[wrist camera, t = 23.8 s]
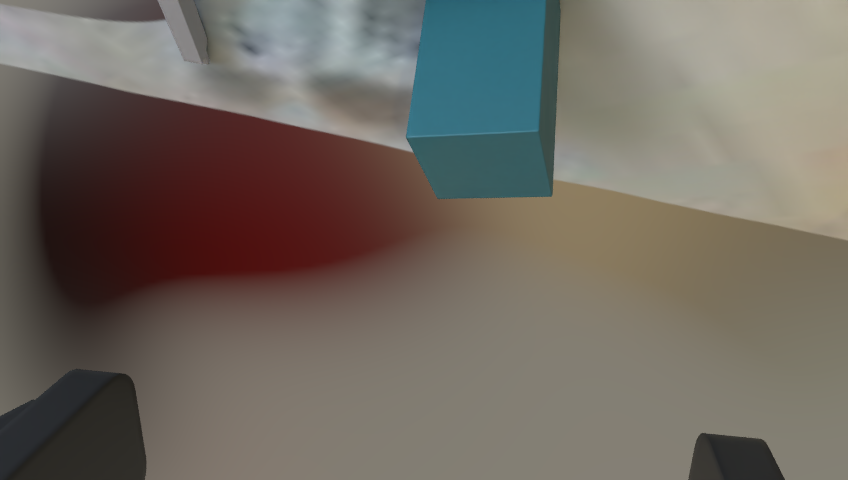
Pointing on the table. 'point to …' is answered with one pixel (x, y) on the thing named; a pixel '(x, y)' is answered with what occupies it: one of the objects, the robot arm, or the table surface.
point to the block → (486, 97)
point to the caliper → (186, 29)
